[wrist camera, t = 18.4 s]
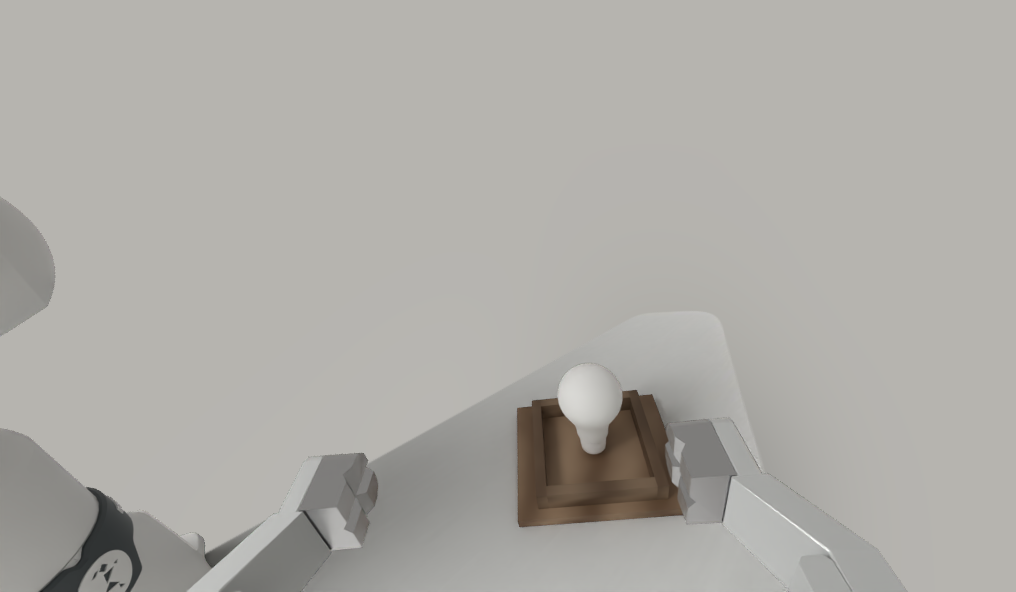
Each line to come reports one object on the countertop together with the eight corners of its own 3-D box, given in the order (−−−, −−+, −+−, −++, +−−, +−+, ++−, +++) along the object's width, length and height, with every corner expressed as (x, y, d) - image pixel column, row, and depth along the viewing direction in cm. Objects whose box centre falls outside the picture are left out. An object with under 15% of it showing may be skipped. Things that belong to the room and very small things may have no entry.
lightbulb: (559, 469, 44) (548, 392, 38) (570, 422, 48) (561, 348, 43) (621, 479, 42) (619, 399, 36) (625, 430, 46) (624, 352, 41)
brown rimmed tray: (519, 527, 40) (514, 508, 39) (518, 413, 52) (514, 396, 51) (693, 514, 39) (696, 494, 37) (651, 400, 51) (652, 381, 49)
